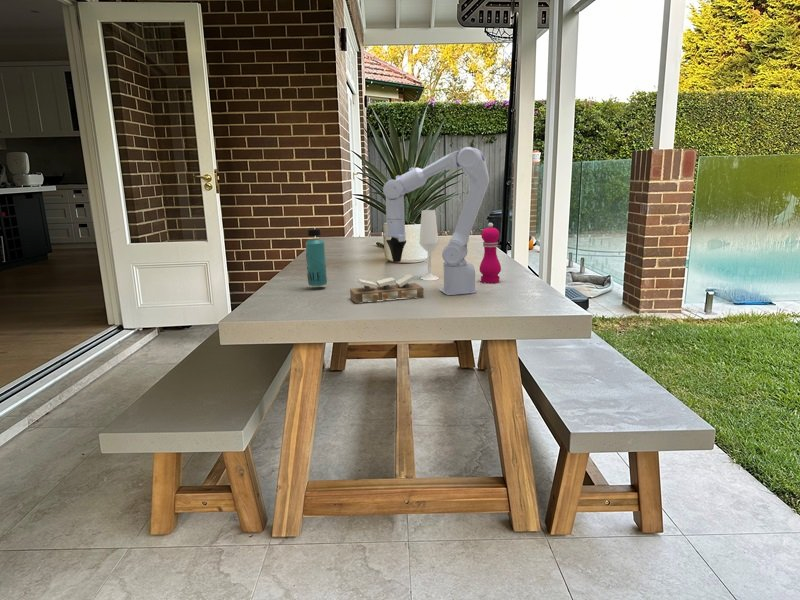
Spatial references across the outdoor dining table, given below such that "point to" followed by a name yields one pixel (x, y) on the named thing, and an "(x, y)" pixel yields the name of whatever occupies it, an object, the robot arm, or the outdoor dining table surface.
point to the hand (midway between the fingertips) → (396, 261)
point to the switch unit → (386, 292)
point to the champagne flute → (428, 237)
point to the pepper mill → (490, 256)
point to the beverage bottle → (315, 260)
